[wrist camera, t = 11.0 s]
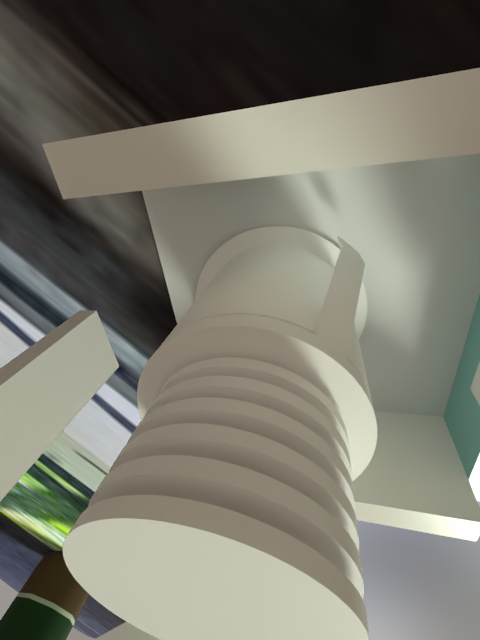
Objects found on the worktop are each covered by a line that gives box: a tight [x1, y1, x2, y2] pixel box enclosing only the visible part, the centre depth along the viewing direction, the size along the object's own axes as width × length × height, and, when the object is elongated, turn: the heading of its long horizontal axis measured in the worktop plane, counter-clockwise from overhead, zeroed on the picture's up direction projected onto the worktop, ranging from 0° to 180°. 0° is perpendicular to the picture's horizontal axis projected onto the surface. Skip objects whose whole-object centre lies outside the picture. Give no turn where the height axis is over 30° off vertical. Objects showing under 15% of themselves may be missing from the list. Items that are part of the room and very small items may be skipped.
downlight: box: [63, 226, 377, 640], centre depth 9 cm, size 8×7×10 cm
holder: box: [42, 68, 480, 541], centre depth 11 cm, size 13×14×5 cm
